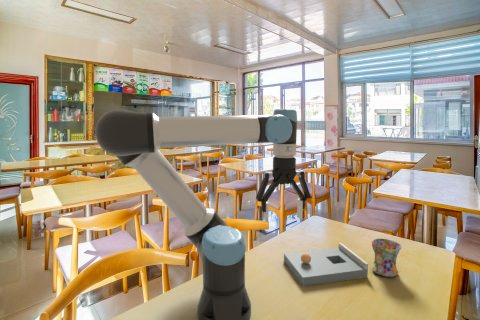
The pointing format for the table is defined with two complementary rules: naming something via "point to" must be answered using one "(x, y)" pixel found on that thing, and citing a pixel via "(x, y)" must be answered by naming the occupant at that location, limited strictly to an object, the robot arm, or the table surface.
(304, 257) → the ball
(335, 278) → the board
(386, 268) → the mug
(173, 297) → the table surface
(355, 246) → the table surface
